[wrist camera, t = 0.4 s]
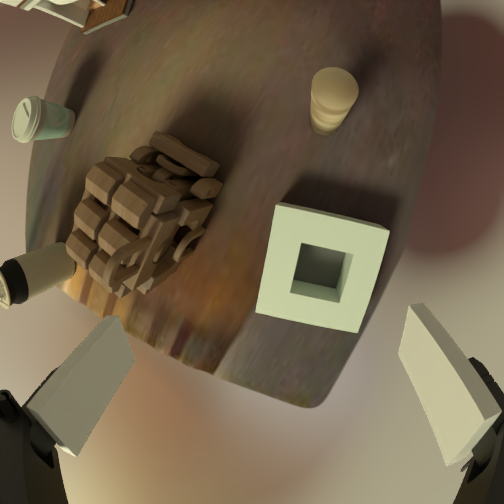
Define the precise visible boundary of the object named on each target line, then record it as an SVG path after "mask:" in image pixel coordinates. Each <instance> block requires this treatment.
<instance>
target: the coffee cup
mask: <svg viewBox="0 0 504 504" xmlns="http://www.w3.org/2000/svg"><path fill="white" fill-rule="evenodd" d="M74 124H75V113H74V111H73V110H71V109H68V108H65V107H63V106H60V105H57V104H54V103H51V102H48V101H45V100H42V99H40V98H39V97H38V96H31V97H28V98H25V99H23V100H22V101H21V102H20V103H19V105H18V107H17V108H16V111H15V113H14V116H13V121H12V135H13V138H14V139H16V140H18V141H19V142H22V143H26V142H28V141H33V140H42V139H52V138H62V137H66V136H68V135H69V134H70V133H71V131H72V129H73V127H74Z"/></svg>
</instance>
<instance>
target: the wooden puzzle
mask: <svg viewBox="0 0 504 504" xmlns="http://www.w3.org/2000/svg"><path fill="white" fill-rule="evenodd" d="M149 145H151V146H152V147H148V146H142V147H139V148H137V149H136V150H134V151H133V152H132V154H131V155H130V158H131V159H132V160H128V159H127V158H118V157H105V159H104V161H102V162H100V163H97V164H95V165H93V167H92V168H91V170H90V171H89V173H88V174H87V176H86V184H85V191H84V194H83V197H82V200H81V201H80V203H79V205H78V206H77V208H76V210H75V211H74V226H73V230H72V233H71V234H70V236H69V238H68V240H67V241H66V251H67V253H68V254H69V255H70V256H71V257H72V258H73V259H74V260H75V261H76V262H77V263H78V264H79V265H80V266H81V267H82V268H83V269H85V270H89V273H90V275H91V276H92V277H93V278H94V279H95V280H96V281H97V282H98V283H99V284H101V285H102V286H103V287H104V288H105V289H106V290H107V291H109V292H110V293H115V294H116V295H117V296H118V297H120V298H122V297H123V296H125V295H126V294H128V293H129V292H131V291H133V290H134V289H136V288H137V289H138V290H139V291H141V292H142V293H143V294H146V293H148V292H149V291H150V290H152V289H153V288H155V287H156V286H157V285H159V284H160V283H161V282H163V281H164V280H165V279H167V277H168V276H170V275H171V274H172V273H174V272H175V271H176V270H177V268H178V266H179V264H180V262H181V261H183V260H184V259H186V258H187V257H189V256H190V255H192V253H193V252H194V249H192V248H191V247H189V248H187V249H185V248H186V247H187V245H188V244H189V243H190V242H191V241H192V240H193V239H195V238H197V237H199V236H200V235H202V234H204V232H205V230H206V229H205V228H204V227H202V224H203V222H204V221H205V219H206V217H207V215H208V214H209V212H210V210H211V208H212V207H213V204H211V203H210V202H208V201H207V200H205V199H207V198H213V197H216V196H217V194H218V193H219V191H220V189H221V188H222V186H223V184H222V183H221V182H219V181H217V180H216V179H214V178H202V179H200V180H198V181H197V182H196V183H194V182H192V181H191V180H189V179H184V178H185V176H196V175H197V174H198V175H200V176H201V177H213V176H214V175H215V173H216V171H217V170H218V168H219V166H220V164H218V163H217V162H215V161H213V160H212V159H210V158H208V157H207V156H205V155H202V154H200V153H198V152H196V151H194V150H192V149H190V148H188V147H186V146H185V145H183V144H182V142H181V141H179V140H178V139H176V138H174V137H172V136H170V135H168V134H164V133H161V132H157V131H156V132H155V133H154V135H153V137H152V139H151V141H150V143H149ZM177 162H179V163H180V164H182V165H184V166H185V167H187V168H184V167H179V166H177V165H175V164H176V163H177ZM158 165H161V166H158ZM194 196H196V197H198V198H196V199H193V198H194ZM190 199H191V200H190ZM106 210H107V211H106ZM184 225H186V226H188V227H189V228H191V229H192V231H190V232H188V233H187V234H186V235H185V236H184V238H183V239H182V240H181V242H180V243H179V244H178V243H175V241H173V239H174V236H175V234H176V232H177V230H178V229H179V227H180V226H184Z"/></svg>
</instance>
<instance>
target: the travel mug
mask: <svg viewBox="0 0 504 504" xmlns="http://www.w3.org/2000/svg"><path fill="white" fill-rule="evenodd" d="M74 272H75V262H74V259H73V258H72V257H71V256H70V255H69V254H68V253H67V251H66V244H64V243H63V242H58V243H55V244H52V245H49V246H46V247H43V248H40V249H37V250H34V251H32V252H29V253H26V254H23V255H21V256H18V257H15V258H13V259H10V260H7V261H5V262H4V263H3V265H2V266H1V267H0V304H1V306H2V307H3V308H5V309H9V308H10V305H12V304H13V303H14V304H21V303H23V302H25V301H27V300H29V299H30V298H32V297H34V296H36V295H38V294H40V293H42V292H44V291H46V290H48V289H50V288H52V287H54V286H56V285H58V284H60V283H62V282H64V281H66V280H68V279H70V278H72V276H73V275H74Z"/></svg>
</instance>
